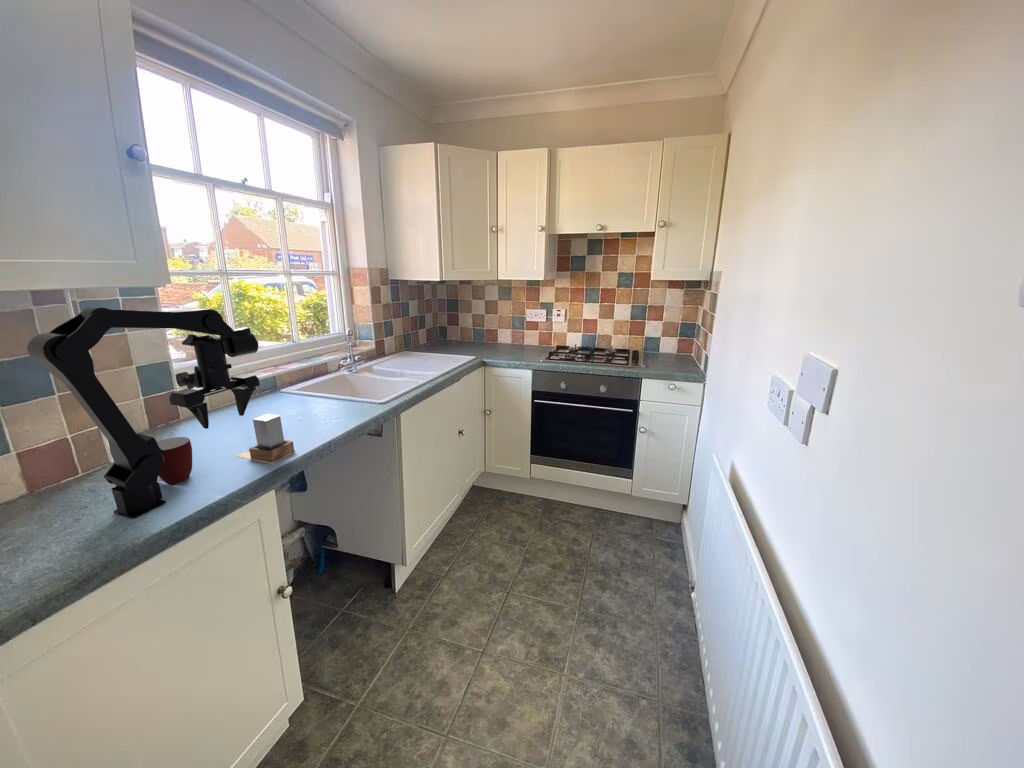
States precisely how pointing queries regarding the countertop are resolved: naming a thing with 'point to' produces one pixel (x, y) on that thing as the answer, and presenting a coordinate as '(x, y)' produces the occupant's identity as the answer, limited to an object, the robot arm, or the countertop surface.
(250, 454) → the stand
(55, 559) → the countertop surface
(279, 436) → the post
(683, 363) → the countertop surface
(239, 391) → the robot arm
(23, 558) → the countertop surface
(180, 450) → the mug
